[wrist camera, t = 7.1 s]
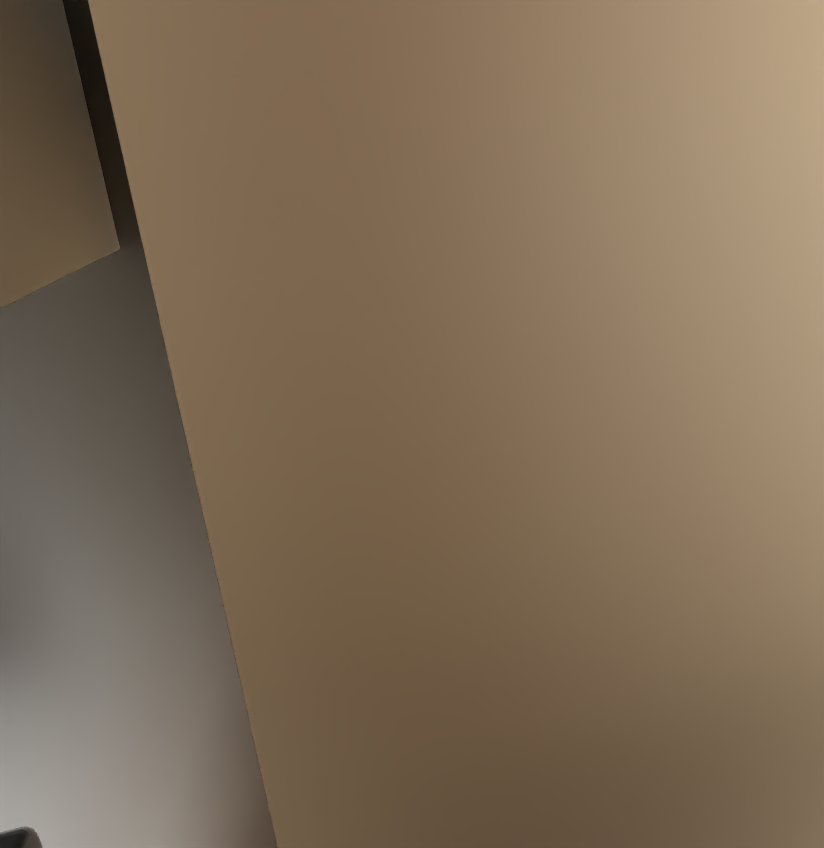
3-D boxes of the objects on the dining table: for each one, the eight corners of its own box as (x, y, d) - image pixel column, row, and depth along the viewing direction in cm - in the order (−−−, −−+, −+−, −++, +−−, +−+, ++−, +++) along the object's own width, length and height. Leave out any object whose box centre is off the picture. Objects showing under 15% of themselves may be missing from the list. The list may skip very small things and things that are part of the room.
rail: (562, -96, 8) (1212, -666, 3) (605, 967, 13) (859, 1490, 8) (144, -74, 7) (-98, -817, 2) (365, 1048, 12) (465, 1689, 7)
